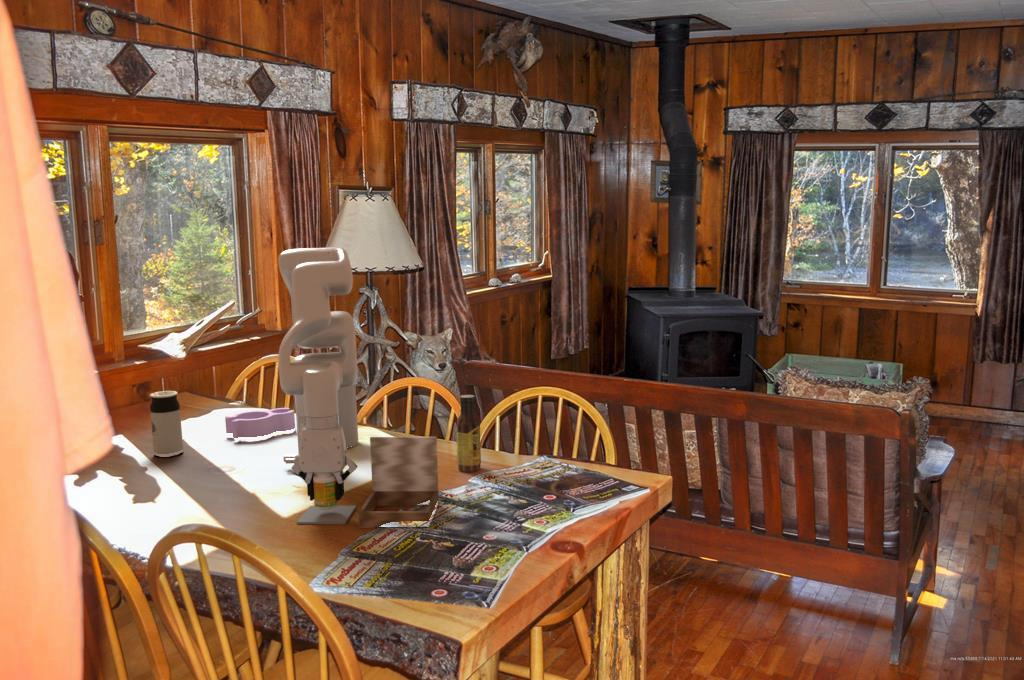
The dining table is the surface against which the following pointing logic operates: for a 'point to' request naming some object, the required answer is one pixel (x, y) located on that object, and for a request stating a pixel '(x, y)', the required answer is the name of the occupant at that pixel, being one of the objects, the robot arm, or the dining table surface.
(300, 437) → the robot arm
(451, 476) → the dining table surface
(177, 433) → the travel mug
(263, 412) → the lilac molded tray
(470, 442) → the sauce bottle
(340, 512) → the slate mat
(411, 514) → the open wooden keepsake box
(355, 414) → the cylinder vase
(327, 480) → the supplement bottle
